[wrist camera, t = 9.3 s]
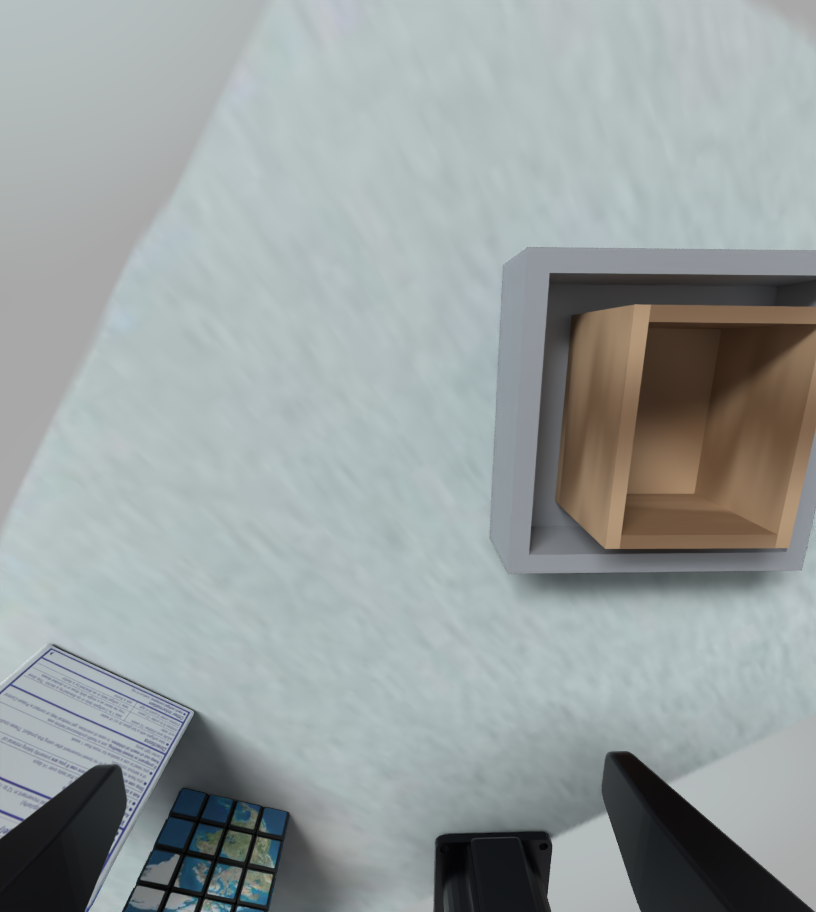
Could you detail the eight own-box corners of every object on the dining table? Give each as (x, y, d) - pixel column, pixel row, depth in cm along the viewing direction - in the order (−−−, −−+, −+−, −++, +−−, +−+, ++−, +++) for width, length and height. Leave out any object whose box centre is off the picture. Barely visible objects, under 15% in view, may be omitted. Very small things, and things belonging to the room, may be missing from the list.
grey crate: (738, 535, 22) (801, 570, 18) (489, 537, 21) (507, 573, 18) (788, 267, 19) (874, 251, 16) (503, 264, 19) (527, 246, 15)
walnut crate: (696, 500, 21) (789, 548, 16) (554, 500, 20) (604, 548, 16) (726, 316, 19) (842, 307, 14) (571, 315, 19) (634, 304, 14)
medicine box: (15, 703, 23) (-206, 912, 14) (50, 636, 22) (-162, 816, 14) (160, 768, 24) (35, 996, 16) (199, 707, 23) (88, 913, 15)
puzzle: (159, 867, 26) (90, 1019, 20) (181, 785, 24) (115, 923, 19) (263, 888, 26) (226, 1043, 21) (290, 810, 25) (259, 951, 19)
